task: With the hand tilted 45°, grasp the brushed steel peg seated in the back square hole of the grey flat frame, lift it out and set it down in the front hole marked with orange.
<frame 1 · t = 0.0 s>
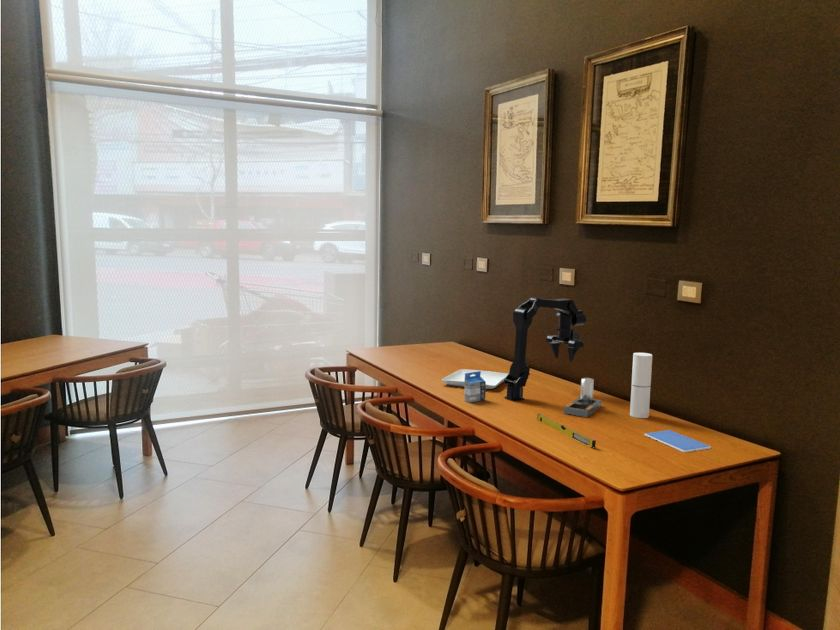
hand: (563, 359, 284), 15 cm above the table, tool pointing down, fingers open, 9 cm apart
tablet computer: (676, 443, 218), on the table
label tape box: (474, 401, 268), on the table
grey flat frame: (582, 409, 256), on the table
steel peg: (586, 407, 260), resting in grey flat frame
spirit level: (564, 434, 225), on the table
cylindrical container: (639, 416, 249), on the table
square plate: (477, 384, 301), on the table
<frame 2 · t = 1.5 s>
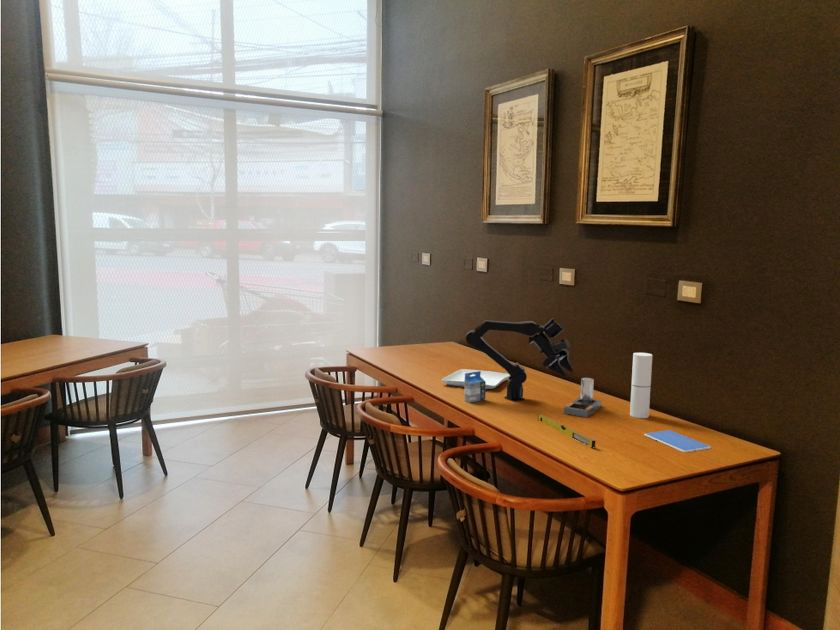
hand: (569, 373, 262), 13 cm above the table, tool tilted 45°, fingers open, 9 cm apart
nothing on the table moved.
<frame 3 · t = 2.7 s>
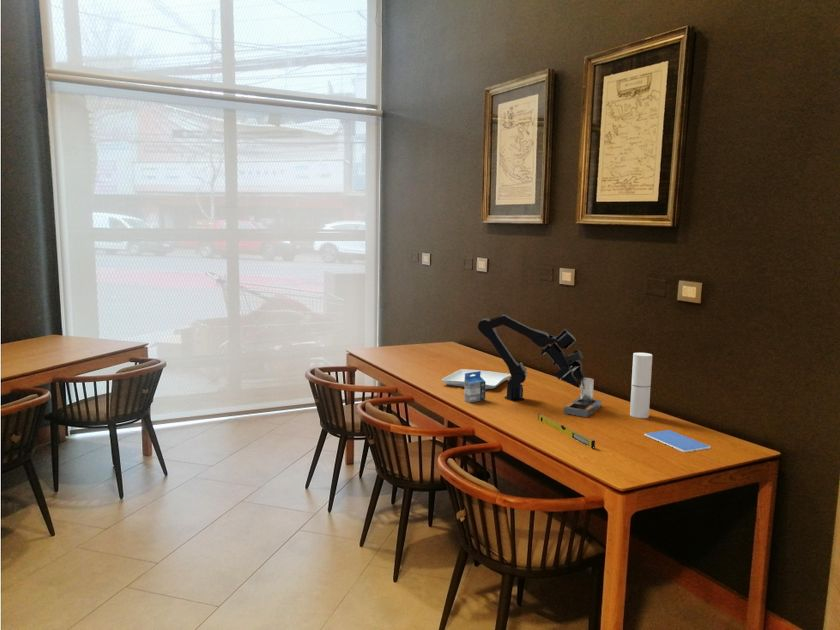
hand: (582, 384, 260), 9 cm above the table, tool tilted 45°, fingers open, 9 cm apart
nothing on the table moved.
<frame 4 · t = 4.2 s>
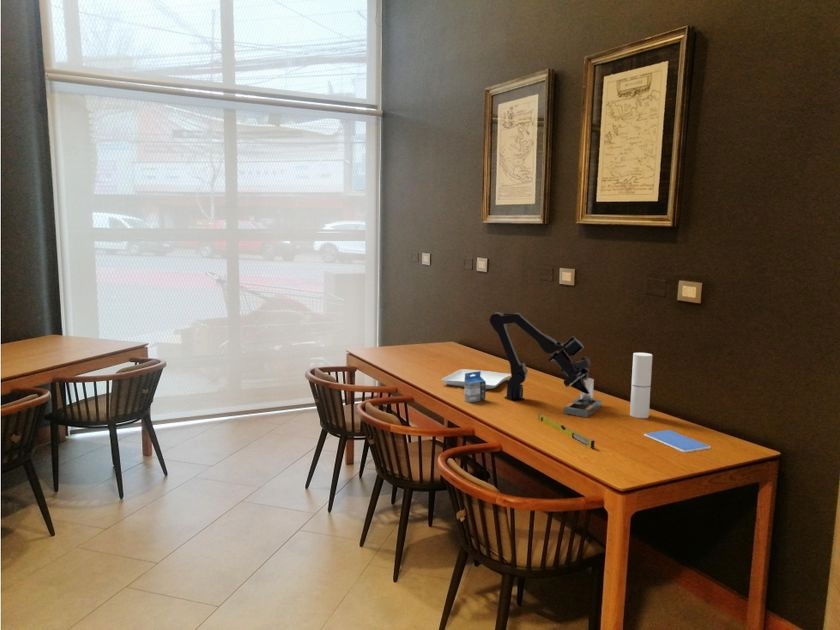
hand: (590, 392, 258), 7 cm above the table, tool tilted 45°, fingers closed on steel peg, 5 cm apart
steel peg: (586, 407, 260), resting in grey flat frame, touching gripper
everything else where it was.
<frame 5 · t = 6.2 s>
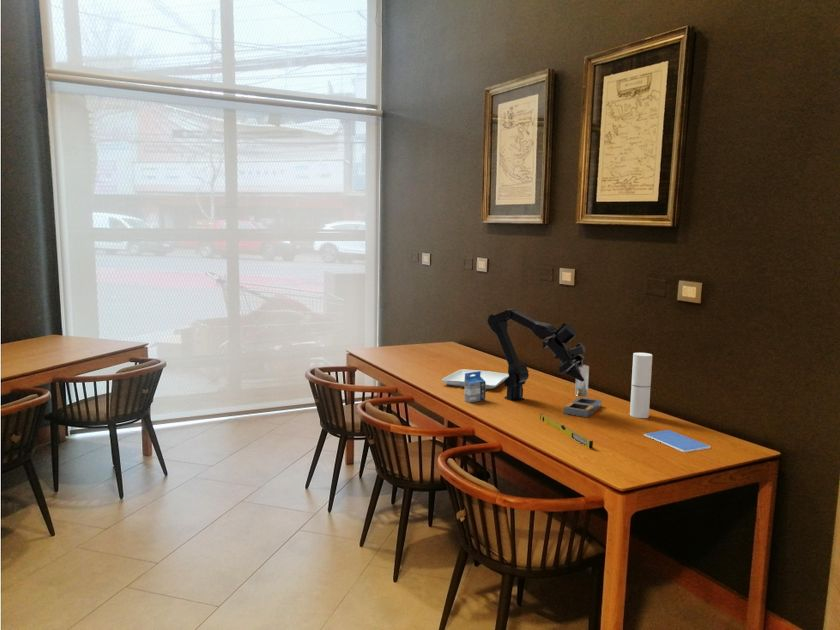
hand: (585, 379, 251), 14 cm above the table, tool tilted 45°, fingers closed on steel peg, 5 cm apart
steel peg: (581, 395, 252), point 7 cm above the table, touching gripper
everything else where it was.
when the fingers open (7 cm above the table, at t = 8.1 s): steel peg stays where it is, resting on grey flat frame.
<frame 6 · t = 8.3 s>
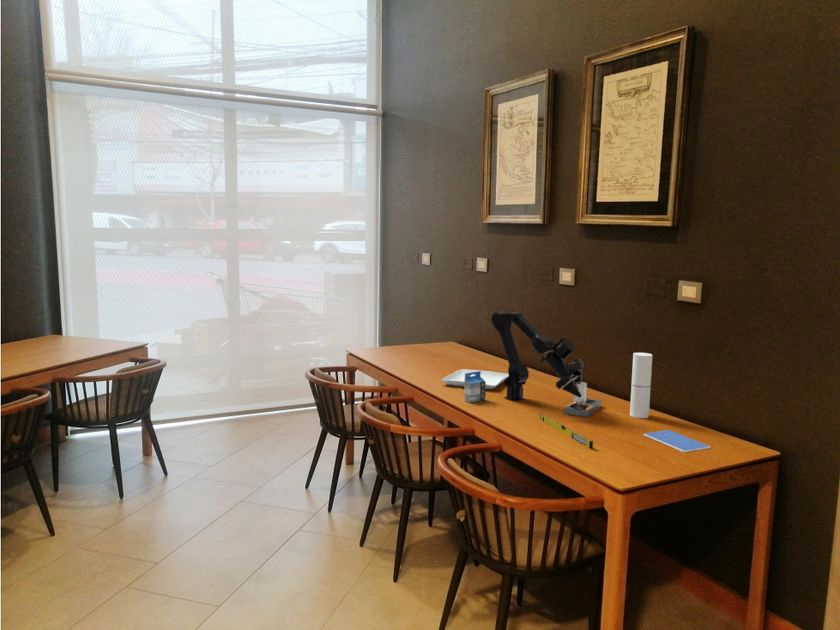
hand: (583, 394, 250), 8 cm above the table, tool tilted 45°, fingers open, 7 cm apart
steel peg: (579, 412, 252), resting on grey flat frame
everything else where it was.
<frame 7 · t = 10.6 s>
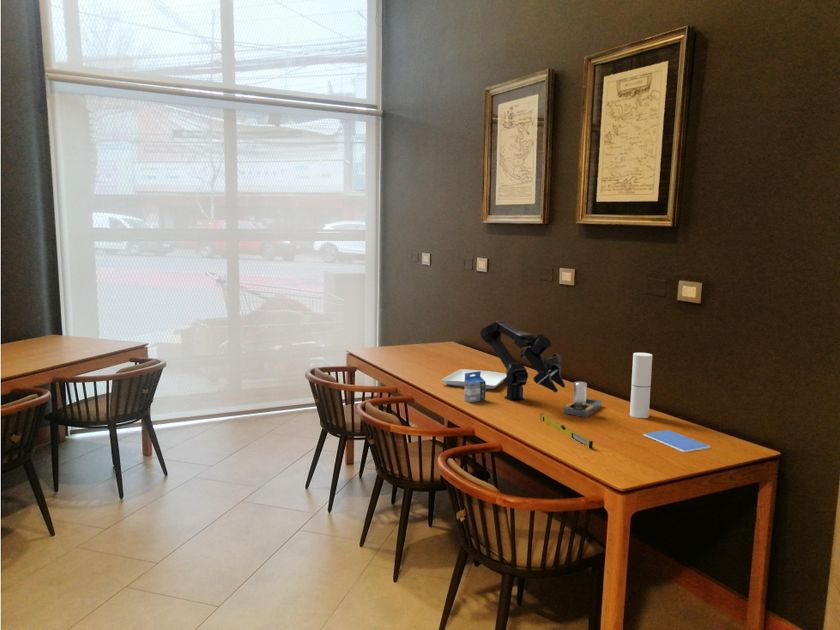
hand: (560, 389, 255), 9 cm above the table, tool tilted 45°, fingers open, 9 cm apart
nothing on the table moved.
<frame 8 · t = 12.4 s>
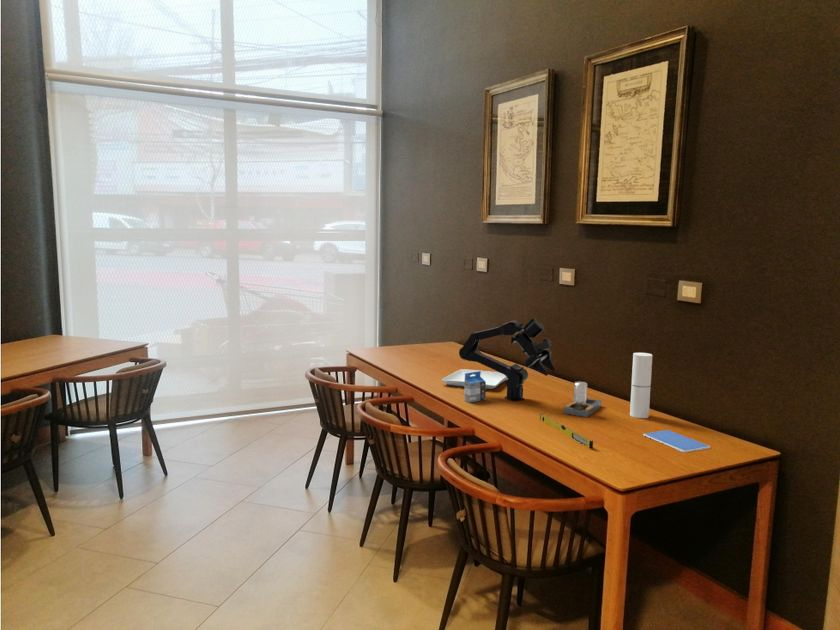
hand: (551, 373, 262), 14 cm above the table, tool tilted 45°, fingers open, 9 cm apart
nothing on the table moved.
at the end: steel peg 0.0 cm from the target spot, resting on grey flat frame; steel peg tilted 1°; the gripper is holding nothing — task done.
